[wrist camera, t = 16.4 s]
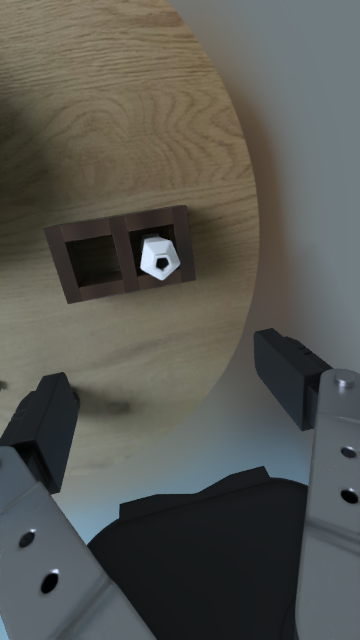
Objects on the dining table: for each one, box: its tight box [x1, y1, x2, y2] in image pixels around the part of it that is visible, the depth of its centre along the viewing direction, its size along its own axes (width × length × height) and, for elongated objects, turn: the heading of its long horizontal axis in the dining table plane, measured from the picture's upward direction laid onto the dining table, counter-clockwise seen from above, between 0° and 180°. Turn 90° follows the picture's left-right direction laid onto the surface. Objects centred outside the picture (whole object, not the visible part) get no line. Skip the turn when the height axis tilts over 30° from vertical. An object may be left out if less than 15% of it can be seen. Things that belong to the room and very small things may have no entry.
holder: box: [43, 205, 196, 304], centre depth 40 cm, size 18×10×6 cm, turn 99°
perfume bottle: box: [140, 233, 180, 280], centre depth 36 cm, size 5×4×15 cm
